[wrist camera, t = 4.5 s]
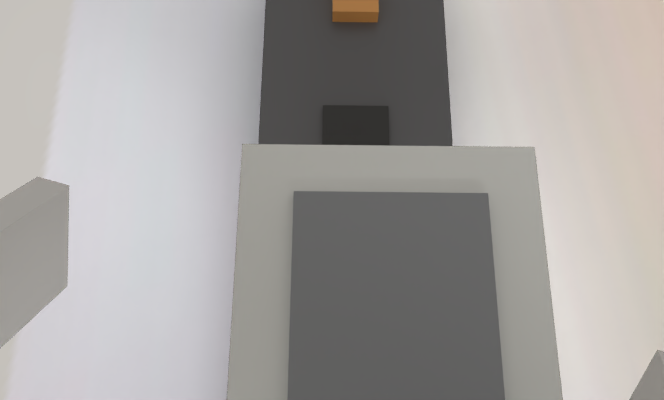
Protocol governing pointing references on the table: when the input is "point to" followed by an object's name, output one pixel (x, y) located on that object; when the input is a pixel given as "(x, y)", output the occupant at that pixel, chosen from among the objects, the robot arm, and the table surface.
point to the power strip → (355, 73)
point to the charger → (391, 275)
